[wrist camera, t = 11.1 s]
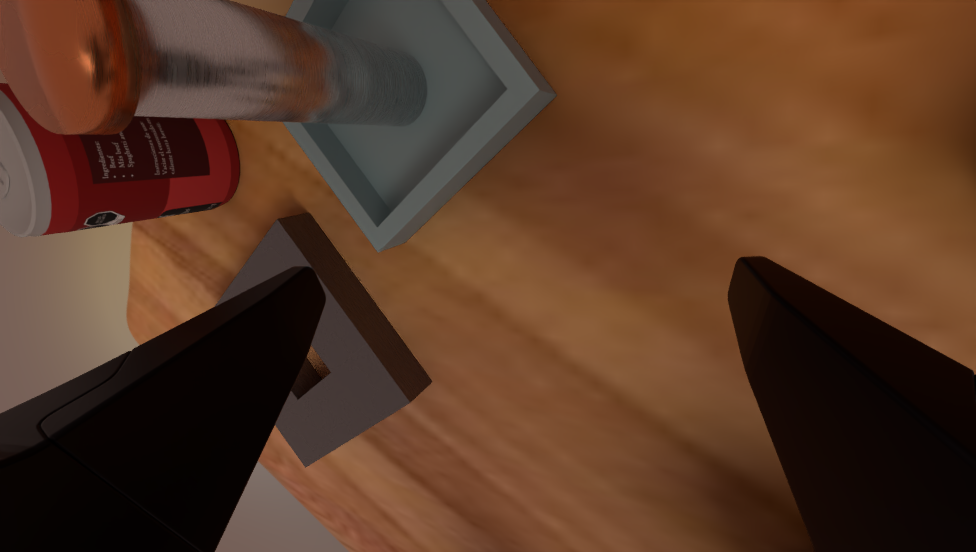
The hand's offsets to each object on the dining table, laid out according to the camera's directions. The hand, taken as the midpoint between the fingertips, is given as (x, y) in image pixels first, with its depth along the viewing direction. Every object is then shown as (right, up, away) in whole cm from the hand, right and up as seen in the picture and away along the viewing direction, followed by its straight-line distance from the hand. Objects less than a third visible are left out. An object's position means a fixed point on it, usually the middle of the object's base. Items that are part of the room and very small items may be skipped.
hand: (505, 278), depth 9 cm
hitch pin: (-5, +10, +13) cm, 17 cm away
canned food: (-21, +9, +22) cm, 32 cm away
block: (-13, -5, +22) cm, 26 cm away
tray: (-5, +10, +13) cm, 17 cm away
